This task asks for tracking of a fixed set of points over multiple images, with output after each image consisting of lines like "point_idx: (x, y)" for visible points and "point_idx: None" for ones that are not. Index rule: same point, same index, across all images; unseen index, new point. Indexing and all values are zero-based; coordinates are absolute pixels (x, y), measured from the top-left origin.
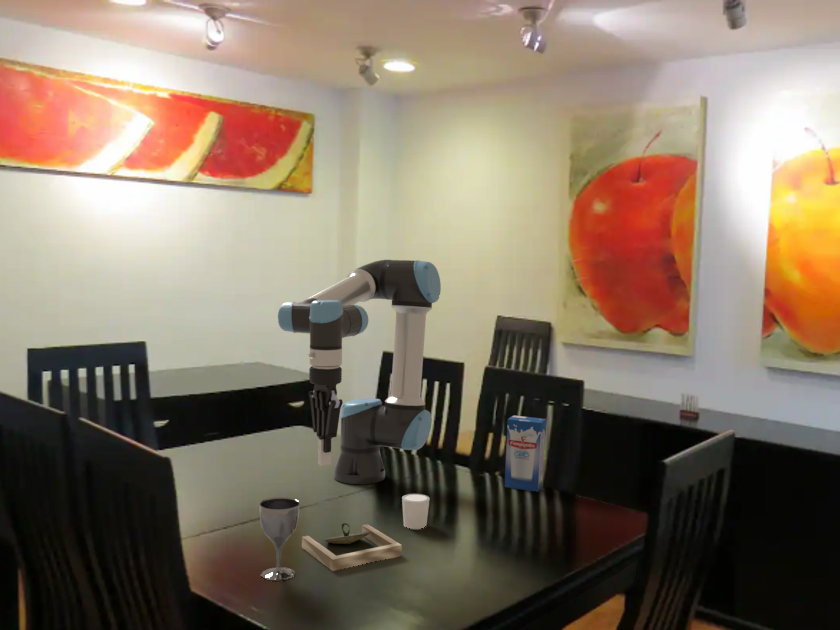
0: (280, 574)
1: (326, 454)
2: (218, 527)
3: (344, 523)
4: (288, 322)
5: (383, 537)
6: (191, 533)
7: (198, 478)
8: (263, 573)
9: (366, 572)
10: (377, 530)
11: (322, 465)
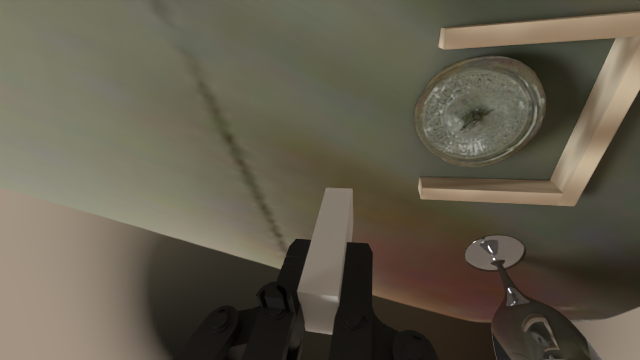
0: (508, 260)
1: (348, 238)
2: (274, 240)
3: (469, 129)
4: None
5: (575, 36)
6: None
7: (53, 187)
8: (478, 267)
9: (632, 143)
10: (512, 24)
11: (352, 219)
